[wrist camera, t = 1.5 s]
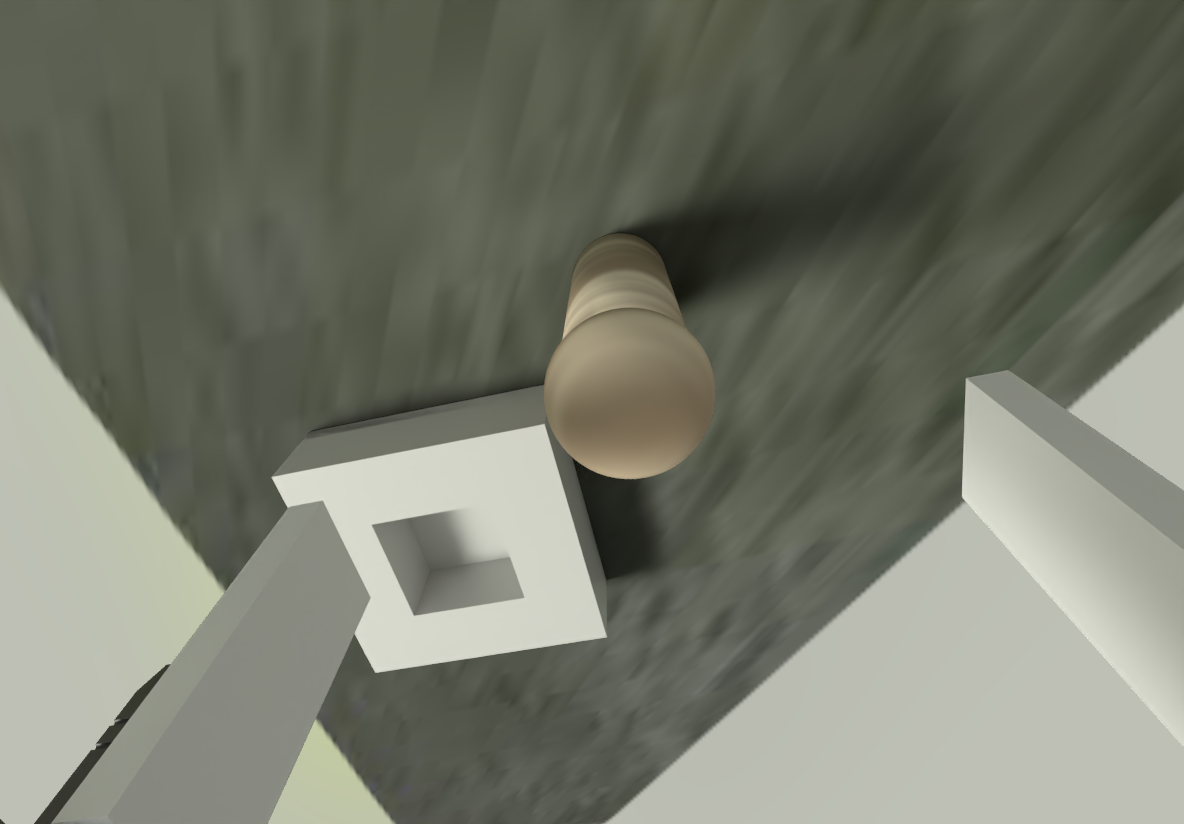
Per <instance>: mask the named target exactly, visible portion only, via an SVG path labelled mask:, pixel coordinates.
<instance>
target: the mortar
mask: <svg viewBox="0 0 1184 824" xmlns="http://www.w3.org/2000/svg"><path fill="white" fill-rule="evenodd" d="M272 479H273V481H274V483H275V485H276V486H277V488H278V490H279V492H280V494H281V496H282V498H283V500H284V501H285V503H286V505H287V507H288V508H289V507H291V506H296V505H301V504H306V503H312V502H317V501H322V500H323V502H324V504H325V506H326V508H327V510H328V512H329V514H330V516H331V518H332V520H333V522H334V524H335V526H336V528H337V530H338V532H339V534H340V537H341V539H342V541H343V543H344V545H345V547H346V549H347V551H348V553H349V555H350V557H351V559H352V561H353V563H354V565H355V567H356V569H357V571H358V573H359V575H360V577H361V579H362V581H363V583H364V585H365V587H366V589H367V591H368V593H369V595H370V597H371V598H370V600H369V603H368V605H367V607H366V609H365V611H364V614H363V616H362V618H361V620H360V622H359V625H358V627H357V629H356V631H355V635H356V637H357V639H358V641H359V643H360V645H361V647H362V648H363V650H364V652H365V654H366V656H367V658H368V660H369V662H370V664H371V665H372V667H373V669H374V671H375V673H377V672H383V671H390V670H396V669H403V668H409V667H416V666H422V665H429V664H435V663H442V662H448V661H455V660H461V659H468V658H474V657H481V656H487V655H494V654H500V653H507V652H513V651H520V650H526V649H533V648H539V647H546V646H552V645H559V644H565V643H572V642H578V641H585V640H591V639H598V638H605V637H607V592H606V577H605V574H604V570H603V567H602V563H601V559H600V556H599V552H598V549H597V545H596V541H595V538H594V534H593V531H592V527H591V523H590V520H589V516H588V513H587V509H586V505H585V502H584V498H583V495H582V491H581V487H580V484H579V480H578V477H577V473H576V469H575V466H574V462H573V459H572V457H571V456H570V455H569V454H568V453H567V451H566V450H565V449H564V448H563V447H562V445H561V444H560V443H559V441H558V440H557V438H556V437H555V435H554V433H553V431H552V429H551V427H550V424H549V421H548V418H547V415H546V410H545V405H544V385H540V386H535V387H530V388H525V389H520V390H515V391H510V392H505V393H500V394H495V395H490V396H485V397H480V398H476V399H471V400H466V401H461V402H456V403H451V404H446V405H441V406H436V407H431V408H426V409H421V410H416V411H411V412H406V413H401V414H396V415H391V416H386V417H381V418H376V419H371V420H366V421H361V422H356V423H351V424H346V425H341V426H336V427H331V428H326V429H321V430H316V431H311V432H309V433H308V434H307V436H306V437H305V438H304V439H303V440H302V442H301V443H300V444H299V445H298V446H297V447H296V449H295V450H294V451H293V452H292V453H291V455H290V456H289V457H288V458H287V459H286V460H285V462H284V463H283V464H282V465H281V466H280V468H279V469H278V470H277V471H276V472H275V474H274V475H273V476H272Z"/></svg>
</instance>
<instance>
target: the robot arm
mask: <svg viewBox="0 0 1184 824" xmlns="http://www.w3.org/2000/svg"><path fill="white" fill-rule="evenodd" d="M962 498H963V499H964V500H965V501H966V502H967V503H968V504H969V506H970V507H971V508H972V509H973V510H974V511H975V512H976V513H977V515H978V516H979V517H980V518H981V519H982V520H983V521H984V523H985V524H986V525H987V526H988V527H989V528H990V529H991V530H992V532H993V533H994V534H995V535H996V536H997V537H998V538H999V539H1000V540H1001V542H1002V543H1003V544H1004V545H1005V546H1006V547H1007V548H1008V550H1009V551H1010V552H1011V553H1012V554H1013V555H1014V556H1015V557H1016V559H1017V560H1018V561H1019V562H1020V563H1021V564H1022V565H1023V567H1024V568H1025V569H1026V570H1027V571H1028V572H1029V573H1030V574H1031V575H1032V577H1033V578H1034V579H1035V580H1036V581H1037V582H1038V583H1039V585H1040V586H1041V587H1042V588H1043V589H1044V590H1045V591H1046V592H1047V593H1048V595H1049V596H1050V597H1051V598H1052V599H1053V600H1054V601H1055V603H1056V604H1057V605H1058V606H1059V607H1060V608H1061V609H1062V610H1063V611H1064V613H1065V614H1066V615H1067V616H1068V617H1069V618H1070V620H1071V621H1072V622H1073V623H1074V624H1075V625H1076V626H1077V627H1078V628H1079V630H1080V631H1081V632H1082V633H1083V634H1084V635H1085V636H1086V638H1088V640H1089V641H1090V642H1091V643H1092V644H1093V645H1094V647H1095V648H1096V649H1097V650H1098V651H1099V652H1100V653H1101V655H1102V656H1103V657H1104V658H1105V659H1106V660H1107V661H1108V662H1109V663H1110V665H1111V666H1112V667H1113V668H1114V669H1115V670H1116V671H1117V673H1118V674H1119V675H1120V676H1121V677H1122V678H1123V679H1124V680H1125V682H1126V683H1127V684H1128V685H1129V686H1130V687H1131V688H1132V689H1133V691H1134V692H1135V693H1136V694H1137V695H1138V696H1139V697H1140V698H1141V699H1142V701H1143V702H1144V703H1145V704H1146V705H1147V706H1148V708H1149V709H1150V710H1151V711H1152V712H1153V713H1154V714H1155V715H1156V717H1157V718H1158V719H1159V720H1160V721H1161V722H1162V723H1163V724H1164V725H1165V727H1166V728H1167V729H1168V730H1169V731H1170V732H1171V733H1172V735H1173V736H1174V737H1175V738H1176V739H1177V740H1178V741H1179V742H1180V744H1181V745H1182V746H1183V747H1184V491H1183V490H1182V489H1180V488H1179V487H1177V486H1176V485H1175V484H1173V483H1172V482H1170V481H1169V480H1167V479H1166V478H1165V477H1163V476H1162V475H1160V474H1159V473H1157V472H1155V471H1154V470H1153V469H1151V468H1150V467H1148V466H1147V465H1146V464H1144V463H1143V462H1141V461H1140V460H1138V459H1137V458H1135V457H1134V456H1132V455H1131V454H1130V453H1128V452H1127V451H1125V450H1124V449H1122V448H1121V447H1119V446H1118V445H1116V444H1115V443H1113V442H1112V441H1111V440H1109V439H1108V438H1106V437H1105V436H1103V435H1102V434H1100V433H1099V432H1098V431H1096V430H1095V429H1093V428H1092V427H1090V426H1089V425H1087V424H1086V423H1084V422H1083V421H1082V420H1080V419H1079V418H1077V417H1076V416H1074V415H1073V414H1071V413H1070V412H1068V411H1067V410H1066V409H1064V408H1063V407H1061V406H1060V405H1058V404H1057V403H1055V402H1054V401H1052V400H1051V399H1050V398H1048V397H1047V396H1045V395H1044V394H1042V393H1041V392H1039V391H1038V390H1036V389H1035V388H1033V387H1032V386H1031V385H1029V384H1028V383H1026V382H1025V381H1023V380H1022V379H1020V378H1019V377H1017V376H1016V375H1015V374H1013V373H1012V372H1010V371H1009V370H1007V371H1002V372H996V373H991V374H986V375H981V376H975V377H970V378H966V394H965V423H964V452H963V481H962ZM370 598H371V597H370V595H369V593H368V591H367V589H366V587H365V585H364V583H363V581H362V579H361V577H360V575H359V573H358V571H357V569H356V567H355V565H354V563H353V561H352V559H351V557H350V555H349V553H348V551H347V549H346V547H345V545H344V543H343V541H342V539H341V537H340V534H339V532H338V530H337V528H336V526H335V524H334V522H333V520H332V518H331V516H330V514H329V512H328V510H327V508H326V506H325V504H324V502H323V500H322V501H317V502H312V503H306V504H301V505H296V506H291V507H289V508H288V509H287V511H286V512H285V513H284V515H283V516H282V517H281V518H280V520H279V521H278V522H277V524H276V525H275V526H274V528H273V529H272V530H271V532H270V533H269V534H268V536H267V537H266V538H265V540H264V541H263V542H262V544H261V545H260V546H259V548H258V549H257V550H256V552H255V553H254V554H253V556H252V557H251V558H250V560H249V561H248V562H247V564H246V565H245V566H244V568H243V569H242V570H241V572H240V573H239V574H238V576H237V577H236V578H235V580H234V581H233V582H232V584H231V585H230V586H229V588H228V589H227V590H226V592H225V593H224V594H223V596H222V597H221V598H220V600H219V601H218V602H217V604H216V605H215V606H214V608H213V609H212V610H211V612H210V613H209V614H208V616H207V617H206V618H205V620H204V621H203V622H202V624H201V625H200V626H199V628H198V629H197V630H196V632H195V633H194V634H193V635H192V637H191V638H190V639H189V641H188V642H187V644H186V645H185V646H184V647H183V649H182V650H181V651H180V653H179V654H178V656H177V657H176V658H175V660H174V661H173V662H172V664H169V665H166V666H165V667H164V668H163V669H161V670H160V671H159V672H158V673H157V674H156V675H155V676H153V677H152V678H151V679H150V680H149V681H148V682H147V683H146V684H144V685H143V686H142V687H141V688H140V689H139V690H138V691H137V692H136V693H135V694H134V696H133V697H132V698H131V699H130V701H129V702H128V703H127V705H126V706H125V707H124V708H123V710H122V711H121V712H120V714H119V715H118V716H117V717H116V719H115V720H114V721H115V724H114V725H113V726H109V728H108V729H107V730H106V732H105V733H104V734H103V736H102V737H101V738H100V739H99V741H98V742H97V743H96V749H95V750H91V751H90V753H89V754H88V755H87V757H85V759H84V760H83V761H82V763H81V764H80V765H79V767H78V768H77V769H76V770H75V772H74V773H73V774H72V775H71V777H70V778H69V779H68V781H67V782H66V783H65V785H64V786H63V787H62V789H61V790H60V791H59V792H58V794H57V795H56V796H55V797H54V799H53V800H52V802H51V803H50V804H49V805H48V807H47V808H46V809H45V810H44V812H43V813H42V814H41V816H40V817H39V818H38V819H37V821H36V822H35V823H34V824H268V822H269V820H270V817H271V815H272V813H273V811H274V808H275V806H276V804H277V802H278V800H279V798H280V795H281V793H282V791H283V789H284V787H285V785H286V782H287V780H288V778H289V776H290V774H291V771H292V769H293V767H294V764H295V763H296V760H297V758H298V756H299V754H300V752H301V749H302V747H303V745H304V743H305V741H306V738H307V736H308V734H309V732H310V730H311V727H312V725H313V723H314V721H315V719H316V717H317V714H318V712H319V710H320V708H321V706H322V703H323V701H324V699H325V697H326V695H327V693H328V690H329V688H330V686H331V684H332V682H333V679H334V677H335V675H336V673H337V671H338V668H339V666H340V664H341V662H342V660H343V657H344V655H345V653H346V651H347V649H348V647H349V644H350V642H351V640H352V638H353V636H354V633H355V631H356V629H357V627H358V625H359V622H360V620H361V618H362V616H363V614H364V611H365V609H366V607H367V605H368V603H369V600H370ZM0 824H5V823H4V822H3V821H2V820H1V819H0Z"/></svg>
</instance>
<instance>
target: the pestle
mask: <svg viewBox="0 0 1184 824" xmlns="http://www.w3.org/2000/svg"><path fill="white" fill-rule="evenodd" d="M715 394H716V390H715V380H714V376H713V371H712V367H711V364H710V362H709V359H708V357H707V355H706V353H705V352H704V350H703V348H702V346H701V345H700V343H699V342H698V341H697V339H696V338H695V337H694V336H693V335H692V334H691V333H690V332H689V331H688V330H687V329H686V327H685V324H684V321H683V318H682V315H681V312H680V309H679V306H678V303H677V300H676V297H675V294H674V292H673V289H672V286H671V283H670V280H669V277H668V274H667V271H666V268H665V265H664V263H663V260H662V258H661V256H660V255H659V253H658V252H657V251H656V249H655V248H654V247H653V246H652V245H651V244H649V243H648V242H647V241H645V240H644V239H642V238H640V237H637V236H635V235H631V234H625V233H615V234H609V235H606V236H603V237H601V238H598V239H597V240H595V241H593V242H592V243H591V244H589V245H588V246H587V247H586V248H585V249H584V250H583V251H582V253H581V254H580V256H579V257H578V259H577V261H576V264H575V267H574V271H573V276H572V282H571V289H570V295H569V301H568V308H567V314H566V320H565V327H564V333H563V339H562V341H561V343H560V344H559V345H558V347H557V348H556V350H555V352H554V354H553V356H552V358H551V361H550V363H549V366H548V368H547V372H546V376H545V383H544V405H545V410H546V415H547V418H548V421H549V424H550V427H551V429H552V431H553V433H554V435H555V437H556V438H557V440H558V441H559V443H560V444H561V445H562V447H563V448H564V449H565V450H566V451H567V453H568V454H569V455H570V456H571V457H573V458H574V459H575V460H576V461H578V462H579V463H580V464H582V465H583V466H585V467H587V468H588V469H590V470H592V471H594V472H596V473H599V474H602V475H605V476H609V477H613V478H621V479H638V478H646V477H650V476H654V475H657V474H660V473H663V472H665V471H667V470H669V469H671V468H673V467H674V466H676V465H677V464H679V463H680V462H682V461H683V460H684V459H685V458H686V457H688V456H689V455H690V454H691V452H692V451H693V450H694V449H695V448H696V447H697V446H698V444H699V443H700V442H701V440H702V439H703V437H704V435H705V433H706V431H707V429H708V427H709V424H710V422H711V419H712V416H713V411H714V407H715Z"/></svg>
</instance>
